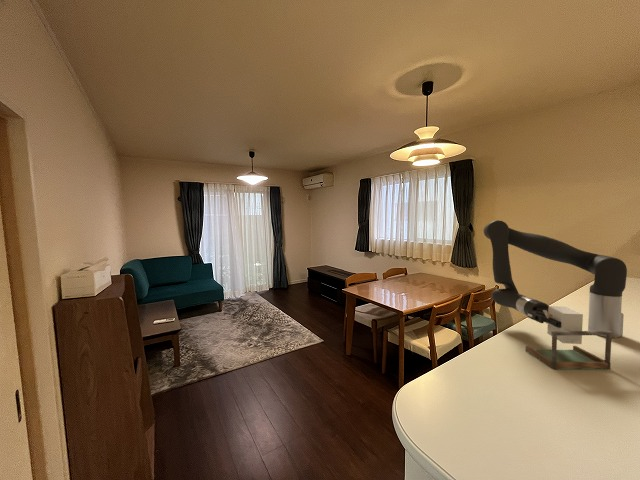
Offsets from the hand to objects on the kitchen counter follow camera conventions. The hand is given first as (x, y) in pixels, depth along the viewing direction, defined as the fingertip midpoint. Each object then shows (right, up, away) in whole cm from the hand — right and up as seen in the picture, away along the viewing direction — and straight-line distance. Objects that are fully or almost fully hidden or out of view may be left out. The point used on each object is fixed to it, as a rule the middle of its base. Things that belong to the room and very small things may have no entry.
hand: (570, 325), depth 87 cm
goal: (+1, -13, +3) cm, 13 cm away
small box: (0, -6, +3) cm, 7 cm away
